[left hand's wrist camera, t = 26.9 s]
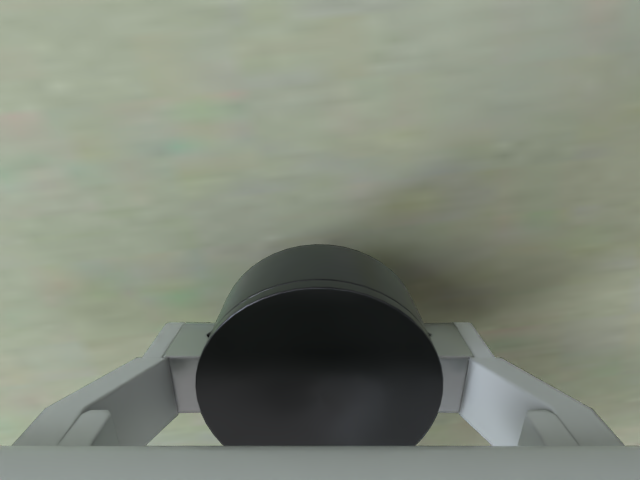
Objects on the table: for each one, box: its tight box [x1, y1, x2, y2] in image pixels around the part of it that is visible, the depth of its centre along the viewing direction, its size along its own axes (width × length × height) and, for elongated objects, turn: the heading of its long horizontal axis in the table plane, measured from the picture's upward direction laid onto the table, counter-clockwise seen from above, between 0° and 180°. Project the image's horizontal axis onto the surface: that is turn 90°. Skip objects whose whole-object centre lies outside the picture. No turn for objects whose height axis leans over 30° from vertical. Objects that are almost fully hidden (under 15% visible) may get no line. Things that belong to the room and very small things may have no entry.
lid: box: [195, 244, 444, 446], centre depth 10 cm, size 6×6×2 cm
